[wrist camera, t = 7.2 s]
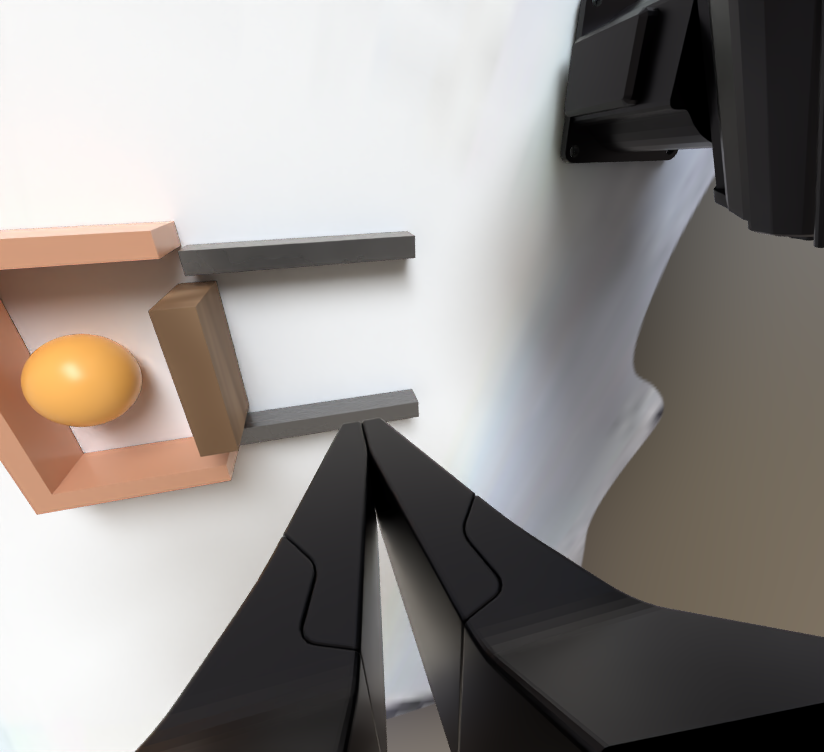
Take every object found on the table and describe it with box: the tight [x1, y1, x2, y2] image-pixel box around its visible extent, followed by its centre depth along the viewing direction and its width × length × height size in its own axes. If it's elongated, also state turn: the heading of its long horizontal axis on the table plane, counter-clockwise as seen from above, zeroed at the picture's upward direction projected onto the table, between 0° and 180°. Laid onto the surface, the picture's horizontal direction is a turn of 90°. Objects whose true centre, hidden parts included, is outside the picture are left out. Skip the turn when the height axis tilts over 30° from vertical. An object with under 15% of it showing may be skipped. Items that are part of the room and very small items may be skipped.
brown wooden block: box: [148, 281, 249, 457], centre depth 18 cm, size 2×7×4 cm, turn 2°
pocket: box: [0, 221, 238, 515], centre depth 17 cm, size 8×12×3 cm
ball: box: [21, 334, 142, 427], centre depth 17 cm, size 4×4×4 cm
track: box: [178, 231, 419, 445], centre depth 20 cm, size 10×10×2 cm
